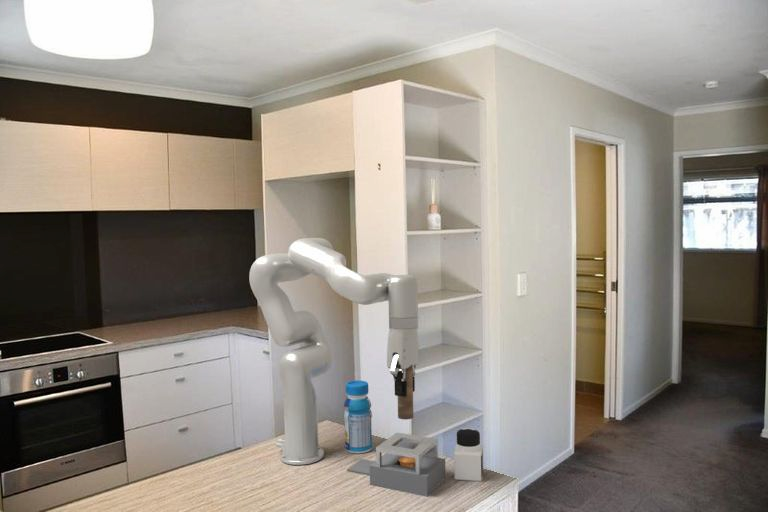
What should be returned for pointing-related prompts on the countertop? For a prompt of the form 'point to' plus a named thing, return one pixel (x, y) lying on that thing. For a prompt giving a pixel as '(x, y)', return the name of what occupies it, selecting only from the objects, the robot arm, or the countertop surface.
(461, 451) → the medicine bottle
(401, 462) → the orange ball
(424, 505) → the countertop surface
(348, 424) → the beverage bottle
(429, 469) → the box
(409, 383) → the brown rod
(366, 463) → the pad
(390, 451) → the frame
